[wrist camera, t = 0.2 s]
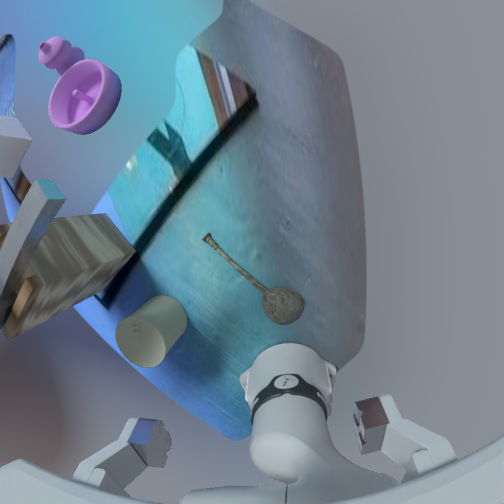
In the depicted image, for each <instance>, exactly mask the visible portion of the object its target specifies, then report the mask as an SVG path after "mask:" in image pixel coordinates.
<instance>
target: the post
mask: <svg viewBox="0 0 504 504" xmlns="http://www.w3.org/2000/svg"><path fill="white" fill-rule="evenodd" d="M11 225H12V223H8V224H5V225H0V250H1V247H2V245H3V243H4V240H5V238H6V236H7V233H8V231H9V229H10V227H11ZM135 252H136V250H135V249H134V248H133V247H132V246H131V244H130V243H129V242H128V241H127V240H126V238H125V237H124V236H123V235H122V234H121V232H120V231H119V230H118V229H117V227H116V226H115V225H114V224H113V222H112V221H111V220H110V218H109V217H108V216H107V215H106V213H104V214H91V215H81V216H70V217H59V218H54V219H53V221H52V222H51V224H50V226H49V227H48V229H47V231H46V233H45V234H44V236H43V238H42V240H41V241H40V243H39V245H38V247H37V249H36V250H35V252H34V254H33V256H32V258H31V260H30V262H29V264H28V266H27V268H26V270H25V272H24V274H23V276H22V278H21V280H20V282H19V285H18V287H17V289H16V291H15V292H16V294H17V295H18V296H17V299H16V301H15V303H14V305H13V308H12V310H11V313H10V315H9V317H8V320H7V322H6V325H5V328H4V330H3V333H4V334H5V336H6V337H7V339H8V340H10V339H12V338H14V337H15V336H17V335H18V336H19V335H20V334H22V333H24V332H26V331H28V330H29V329H31V328H33V327H35V326H36V325H39V324H40V323H42V322H44V321H46V320H47V319H50V318H51V317H53V316H55V315H57V314H59V313H61V312H63V311H64V310H66V309H68V308H70V307H72V306H74V305H76V304H78V303H80V302H81V301H83V300H85V299H87V298H89V297H91V296H93V295H95V294H97V293H99V292H101V291H103V290H104V289H105V287H106V286H107V285H108V284H109V283H110V281H111V280H112V279H113V278H114V277H115V275H116V274H117V273H118V272H119V271H120V269H121V268H122V267H123V266H124V265H125V264H126V262H127V261H128V260H129V259H130V258H131V257H132V255H133V254H134V253H135Z"/></svg>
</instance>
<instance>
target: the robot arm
mask: <svg viewBox="0 0 504 504" xmlns="http://www.w3.org/2000/svg"><path fill="white" fill-rule="evenodd" d="M336 371H337V370H336V366H335V365H334V364H332V363H329V362H327V361H324V360H323V359H322V358H321V357H320V356H319V355H318V354H317V353H316V352H315V351H314V350H312V349H311V348H309V347H307V346H304V345H300V344H294V343H285V344H279V345H275V346H273V347H270V348H268V349H266V350H265V351H263V352H262V353H261V354H260V355H259V356H258V357H257V358H256V360H255V361H254V363H253V364H252V366H251V367H250V368H249V369H248V370H246V371H245V372H243V373H242V374H241V375H240V383H241V385H242V387H243V389H244V391H245V394H246V395H245V399H246V401H247V402H248V404H249V406H250V408H251V424H252V426H253V427H252V434H251V442H250V448H249V451H250V456H251V459H252V461H253V463H254V464H255V466H256V467H257V468H258V469H259V470H261V471H262V472H263V473H264V474H266V475H267V476H269V477H271V478H273V479H275V480H278V481H281V482H285V483H287V485H269V486H224V487H216V488H206V489H197V490H192V491H190V492H188V493H187V494H185V495H184V496H183V497H182V498H181V499H180V500H179V502H178V503H177V504H504V435H502V436H500V437H499V438H497V439H496V440H494V441H492V442H491V443H489V444H487V445H485V446H484V447H482V448H480V449H479V450H477V451H475V452H473V453H471V454H469V455H467V456H465V457H464V458H461V459H459V460H458V459H457V457H456V455H455V453H454V451H453V449H452V447H451V445H450V443H449V442H448V440H447V439H446V438H443V437H442V436H439V435H437V434H435V433H433V432H431V431H429V430H427V429H425V428H423V427H421V426H419V425H417V424H416V423H413V422H411V421H410V420H408V419H402V417H401V415H400V413H399V411H398V408H397V407H396V404H395V402H394V400H393V398H392V397H391V394H385V395H381V396H378V397H374V398H370V399H366V400H362V401H358V402H355V403H354V411H355V414H354V415H353V426H354V431H355V435H356V436H358V445H359V449H360V452H361V455H362V454H366V453H370V452H374V451H378V450H381V451H382V452H383V453H385V454H386V455H387V456H388V457H390V458H391V459H392V460H394V461H395V462H396V463H398V464H399V465H400V466H402V467H403V468H404V469H406V473H405V475H404V477H403V479H402V481H401V483H399V482H398V481H397V480H396V479H394V478H392V477H391V476H389V475H387V474H383V473H377V472H373V471H370V470H367V469H364V468H361V467H359V466H357V465H355V464H353V463H352V462H350V461H349V460H347V459H346V458H345V457H343V456H342V455H341V454H340V453H339V452H338V451H337V450H336V449H335V447H334V445H333V444H332V441H331V438H330V435H329V432H328V428H327V423H326V421H327V416H329V415H331V405H329V403H331V402H332V396H331V393H332V389H333V385H334V381H335V376H336ZM329 375H331V376H329ZM246 383H247V384H246ZM170 447H171V436H170V434H169V432H168V431H167V430H165V429H164V423H163V422H162V420H154V419H144V418H133V417H131V418H130V419H128V421H127V423H126V425H125V427H124V429H123V431H122V433H121V435H120V437H119V439H118V441H114V442H112V443H111V444H110V445H108V446H106V447H105V448H103V449H102V450H100V451H98V452H97V453H95V454H94V455H92V456H90V457H89V458H87V459H85V460H84V461H82V462H81V463H80V464H79V466H78V468H77V470H76V472H75V473H74V476H73V477H72V479H71V480H70V479H67V478H64V477H62V476H59V475H57V474H54V473H52V472H50V471H47V470H45V469H43V468H41V467H38V466H36V465H34V464H32V463H30V462H28V461H26V460H23V459H18V460H15V461H13V462H11V463H9V464H7V465H5V466H3V467H1V468H0V504H161V503H155V502H149V501H144V500H139V499H135V498H131V497H130V495H129V494H128V493H127V492H126V491H124V490H123V489H124V488H125V487H126V486H127V485H128V484H129V483H131V482H132V481H133V480H134V479H135V478H136V477H137V476H138V475H140V474H141V473H142V472H143V471H144V470H145V469H146V468H147V466H151V467H161V468H164V466H165V463H166V460H167V455H166V452H168V451H169V450H170Z"/></svg>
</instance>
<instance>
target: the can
mask: <svg viewBox="0 0 504 504" xmlns="http://www.w3.org/2000/svg"><path fill="white" fill-rule="evenodd" d="M186 327H187V315H186V312H185V310H184V308H183V307H182V306H181V304H180V303H179V302H178V301H176V300H175V299H173V298H171V297H169V296H165V295H157V296H154V297H152V298H150V299H149V300H148V301H147V302H146V303H145V304H144V305H143V306H141V307H140V308H139V309H138V310H136V311H135V312H134V313H132V314H131V315H129V316H128V317H127V318H125V319H123V320H122V321H121V322H120V323H119V324H118V326H117V329H116V342H117V345H118V347H119V349H120V351H121V352H122V354H123V355H124V356H125V357H126V358H127V359H128V360H129V361H130V362H132V363H134V364H135V365H138V366H141V367H145V368H151V367H155V366H157V365H159V364H160V363H161V362H162V361H163V360H164V358H165V356H166V355H167V353H168V352H169V350H170V349H171V348H172V346H173V345H174V344H175V342H176V341H177V340H178V338H179V337H180V336H181V335H182V334H183V333H184V332H185V330H186Z"/></svg>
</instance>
